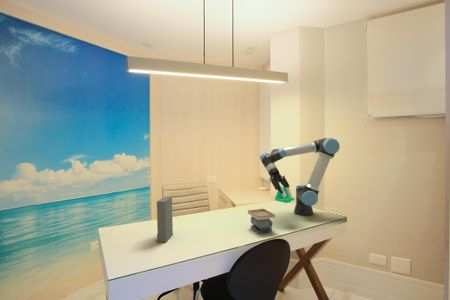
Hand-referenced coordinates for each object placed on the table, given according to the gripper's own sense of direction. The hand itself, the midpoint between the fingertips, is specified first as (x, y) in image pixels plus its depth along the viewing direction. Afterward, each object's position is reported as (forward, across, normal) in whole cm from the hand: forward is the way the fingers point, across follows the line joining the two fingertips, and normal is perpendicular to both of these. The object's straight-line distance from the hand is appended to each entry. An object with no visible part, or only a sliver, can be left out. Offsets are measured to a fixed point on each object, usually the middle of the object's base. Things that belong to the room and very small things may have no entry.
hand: (288, 196), depth 191 cm
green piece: (+1, 0, -6) cm, 6 cm away
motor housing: (+12, +21, -18) cm, 30 cm away
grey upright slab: (-1, +81, -32) cm, 87 cm away
